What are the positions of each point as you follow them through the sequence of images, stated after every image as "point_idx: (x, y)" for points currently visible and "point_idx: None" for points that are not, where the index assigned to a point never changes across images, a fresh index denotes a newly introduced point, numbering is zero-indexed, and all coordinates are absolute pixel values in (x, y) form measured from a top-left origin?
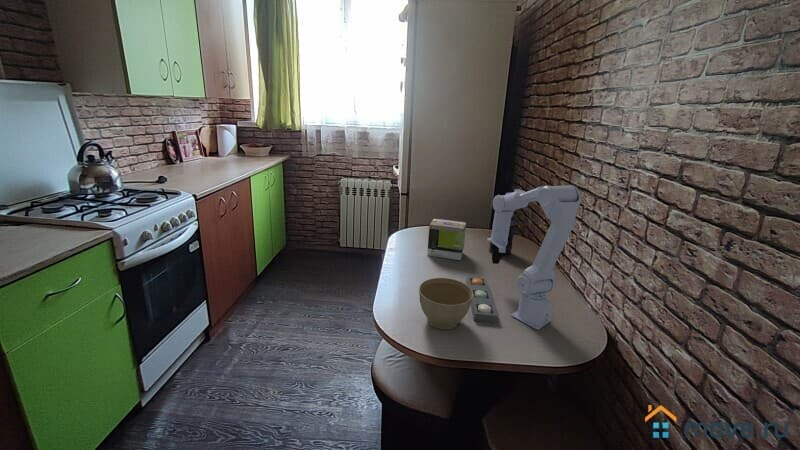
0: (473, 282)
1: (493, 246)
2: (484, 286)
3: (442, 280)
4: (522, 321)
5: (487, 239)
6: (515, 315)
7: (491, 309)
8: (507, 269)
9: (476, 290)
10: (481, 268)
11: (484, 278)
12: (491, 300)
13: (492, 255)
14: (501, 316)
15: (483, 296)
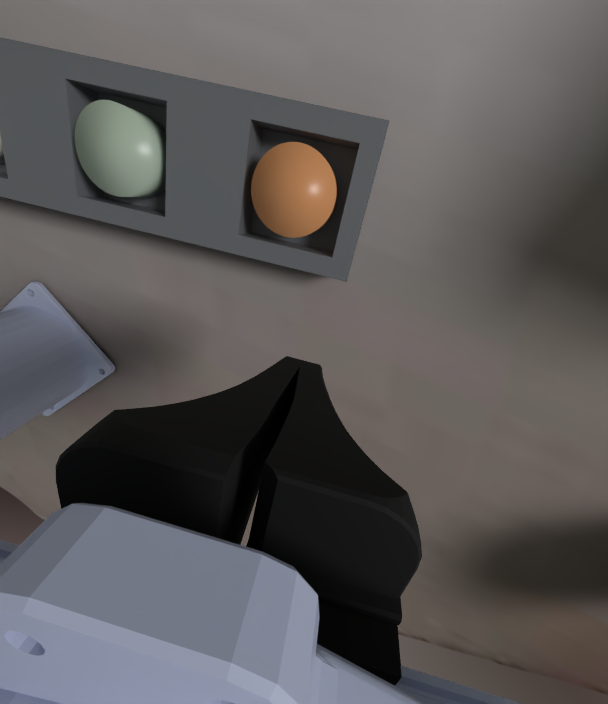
0: (274, 148)
1: (116, 491)
2: (225, 224)
3: None
4: (5, 308)
5: (211, 580)
6: (31, 297)
7: (3, 175)
8: (504, 479)
9: (167, 136)
10: (574, 340)
11: (341, 271)
12: (59, 202)
13: (256, 386)
14: (25, 230)
15: (78, 156)
